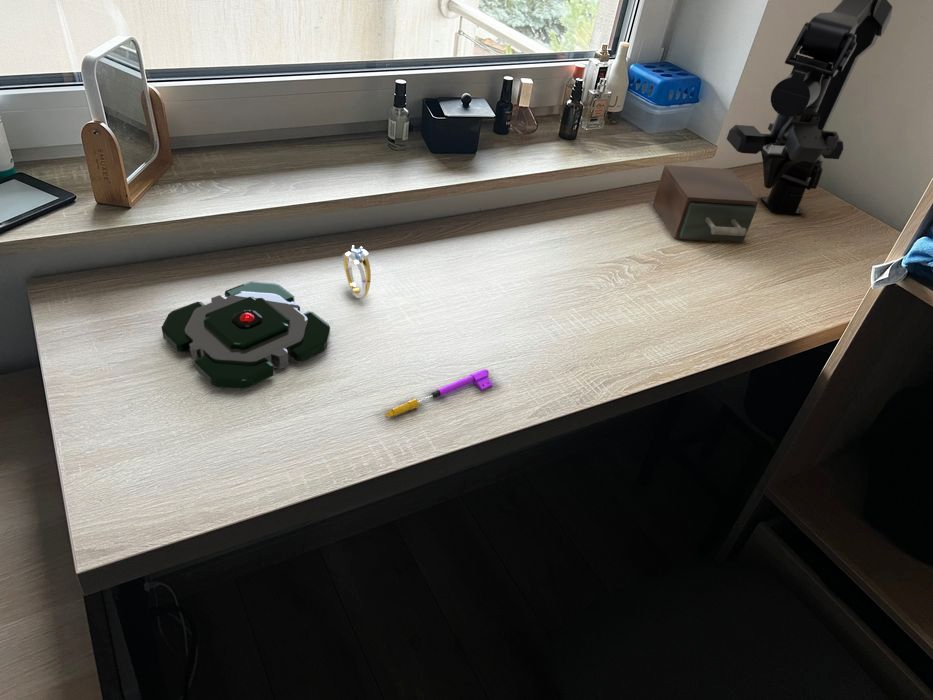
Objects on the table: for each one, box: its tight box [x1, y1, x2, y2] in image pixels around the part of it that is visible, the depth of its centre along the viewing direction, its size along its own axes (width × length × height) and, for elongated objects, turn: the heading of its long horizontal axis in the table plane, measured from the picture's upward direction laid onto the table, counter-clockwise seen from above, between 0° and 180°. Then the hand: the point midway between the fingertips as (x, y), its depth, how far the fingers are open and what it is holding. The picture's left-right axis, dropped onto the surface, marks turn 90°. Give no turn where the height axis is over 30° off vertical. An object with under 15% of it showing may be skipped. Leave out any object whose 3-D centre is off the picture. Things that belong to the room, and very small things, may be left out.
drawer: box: [679, 201, 757, 242], centre depth 135 cm, size 17×12×7 cm
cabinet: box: [652, 164, 759, 243], centre depth 138 cm, size 14×14×9 cm
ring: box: [342, 245, 372, 299], centre depth 106 cm, size 7×3×8 cm, turn 27°
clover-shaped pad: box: [161, 281, 331, 390], centre depth 96 cm, size 18×18×5 cm
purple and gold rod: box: [384, 369, 494, 419], centre depth 92 cm, size 3×1×16 cm
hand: (767, 187), depth 129 cm, fingers closed
